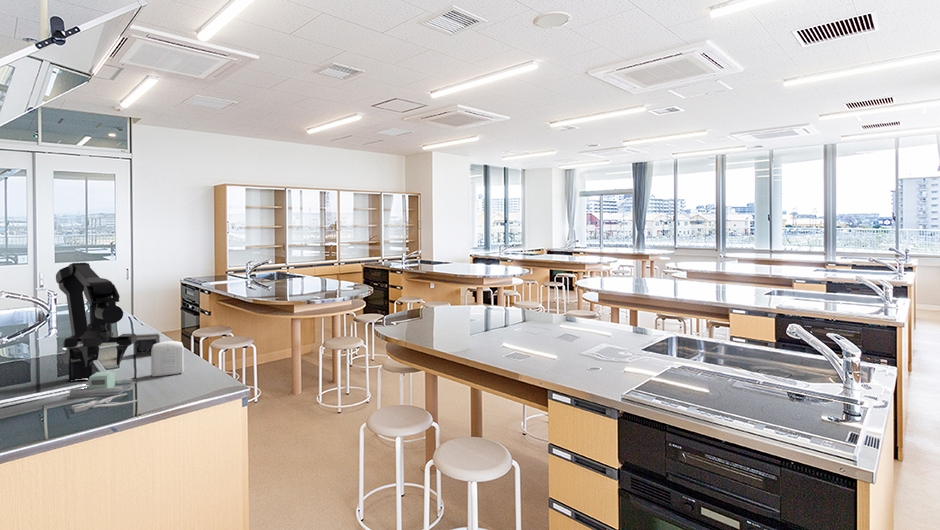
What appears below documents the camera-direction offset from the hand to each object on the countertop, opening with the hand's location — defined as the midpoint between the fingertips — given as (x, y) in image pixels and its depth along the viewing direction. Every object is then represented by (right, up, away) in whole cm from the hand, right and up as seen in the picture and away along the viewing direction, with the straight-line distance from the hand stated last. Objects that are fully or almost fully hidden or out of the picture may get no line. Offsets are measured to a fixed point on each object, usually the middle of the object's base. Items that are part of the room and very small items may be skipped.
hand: (102, 365), depth 159 cm
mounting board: (0, -8, +1) cm, 8 cm away
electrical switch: (-15, -5, +44) cm, 47 cm away
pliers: (+9, -10, -11) cm, 17 cm away
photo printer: (+10, -7, +19) cm, 23 cm away
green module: (0, -8, +1) cm, 8 cm away
